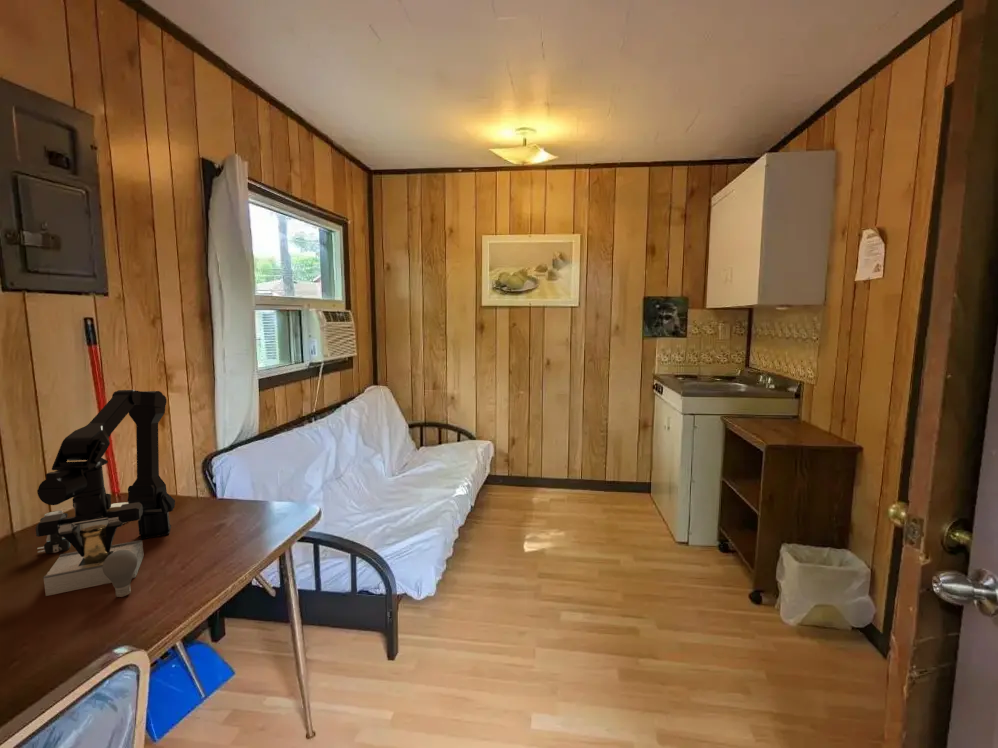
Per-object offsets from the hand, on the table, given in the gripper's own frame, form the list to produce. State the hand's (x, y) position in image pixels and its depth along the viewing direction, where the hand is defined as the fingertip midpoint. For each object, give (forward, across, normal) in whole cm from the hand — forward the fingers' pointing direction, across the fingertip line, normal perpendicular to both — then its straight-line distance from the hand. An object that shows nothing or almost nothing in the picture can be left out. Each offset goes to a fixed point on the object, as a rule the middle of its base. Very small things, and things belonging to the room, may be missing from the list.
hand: (96, 553), depth 119 cm
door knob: (+2, 0, 0) cm, 2 cm away
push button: (+5, +13, -21) cm, 25 cm away
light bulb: (+5, -7, +14) cm, 17 cm away
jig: (+5, 0, 0) cm, 5 cm away
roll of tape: (+6, +5, -40) cm, 41 cm away
